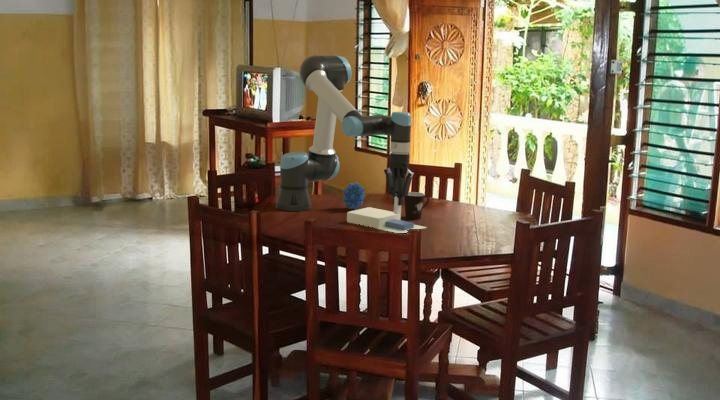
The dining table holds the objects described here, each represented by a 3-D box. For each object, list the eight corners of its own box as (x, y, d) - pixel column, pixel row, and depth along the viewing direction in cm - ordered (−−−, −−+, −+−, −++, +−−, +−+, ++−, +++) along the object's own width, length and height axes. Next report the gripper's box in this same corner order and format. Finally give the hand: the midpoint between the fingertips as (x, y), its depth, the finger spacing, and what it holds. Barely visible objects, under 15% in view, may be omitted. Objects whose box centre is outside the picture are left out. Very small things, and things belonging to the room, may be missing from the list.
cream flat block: (346, 221, 306) (347, 212, 305) (368, 216, 317) (369, 207, 316) (378, 228, 296) (379, 218, 295) (400, 223, 307) (400, 213, 306)
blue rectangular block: (385, 226, 299) (385, 221, 299) (395, 224, 304) (395, 219, 303) (404, 230, 294) (404, 225, 293) (413, 228, 298) (413, 222, 298)
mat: (377, 229, 295) (377, 228, 295) (401, 222, 308) (401, 222, 308) (402, 234, 288) (402, 234, 288) (426, 227, 300) (426, 227, 300)
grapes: (370, 210, 329) (371, 182, 327) (361, 212, 324) (362, 184, 321) (349, 206, 336) (349, 179, 334) (339, 208, 331) (340, 180, 328)
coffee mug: (405, 220, 312) (406, 196, 310) (400, 215, 320) (401, 192, 318) (433, 220, 314) (434, 195, 312) (427, 215, 323) (428, 191, 321)
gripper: (380, 151, 295) (378, 212, 299) (408, 155, 287) (405, 217, 291) (391, 150, 300) (389, 209, 305) (419, 153, 293) (416, 214, 297)
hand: (397, 213), depth 298 cm, fingers closed
